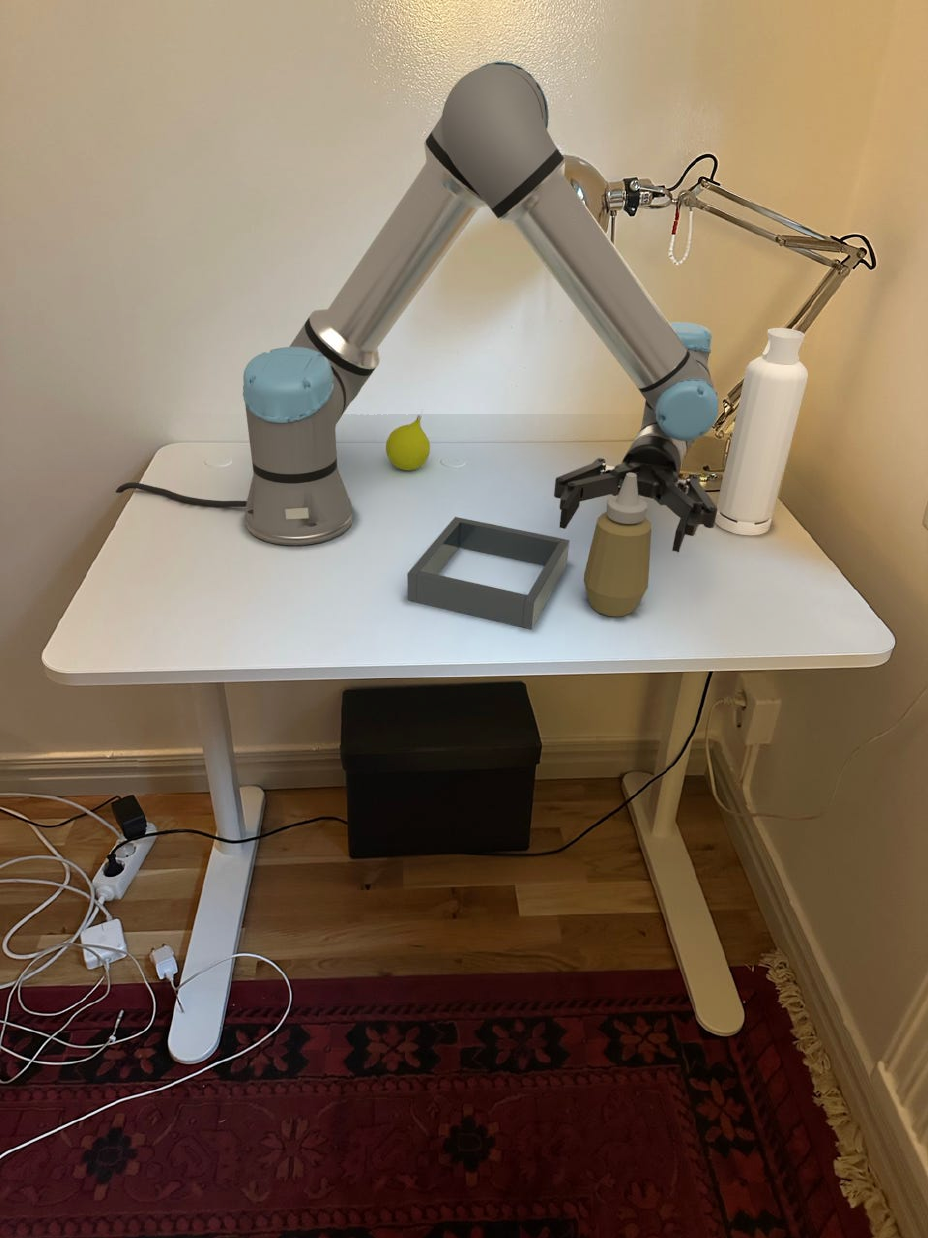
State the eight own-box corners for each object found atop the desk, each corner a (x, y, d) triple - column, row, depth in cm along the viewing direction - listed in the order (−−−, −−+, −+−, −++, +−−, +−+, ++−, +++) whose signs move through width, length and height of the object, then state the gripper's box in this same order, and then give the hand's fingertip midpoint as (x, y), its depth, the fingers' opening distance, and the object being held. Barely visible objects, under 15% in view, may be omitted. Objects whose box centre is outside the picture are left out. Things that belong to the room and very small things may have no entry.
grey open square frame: (407, 600, 111) (407, 573, 109) (454, 541, 124) (455, 516, 122) (531, 629, 107) (534, 601, 104) (567, 565, 119) (569, 539, 117)
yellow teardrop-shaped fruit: (438, 468, 144) (439, 410, 138) (406, 481, 140) (406, 421, 134) (409, 455, 148) (408, 397, 142) (377, 467, 144) (375, 408, 138)
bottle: (772, 538, 128) (822, 344, 112) (715, 531, 129) (756, 339, 113) (767, 513, 134) (814, 327, 118) (713, 507, 135) (752, 321, 120)
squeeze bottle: (567, 604, 111) (582, 474, 101) (604, 581, 116) (622, 454, 106) (620, 630, 107) (641, 496, 97) (656, 605, 112) (680, 475, 102)
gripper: (741, 503, 118) (720, 579, 102) (562, 470, 125) (516, 536, 109) (753, 451, 114) (734, 521, 98) (568, 420, 121) (520, 480, 105)
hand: (619, 529), depth 103 cm, fingers open, 13 cm apart
